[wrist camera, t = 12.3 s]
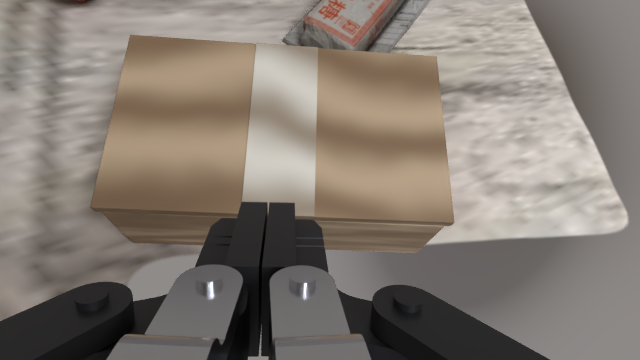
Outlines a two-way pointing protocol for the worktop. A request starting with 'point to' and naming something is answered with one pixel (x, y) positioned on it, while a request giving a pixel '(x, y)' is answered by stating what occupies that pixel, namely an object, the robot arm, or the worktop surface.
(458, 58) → the worktop surface
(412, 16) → the packaged product
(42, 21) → the worktop surface
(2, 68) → the worktop surface
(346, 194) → the carton lid
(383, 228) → the carton
